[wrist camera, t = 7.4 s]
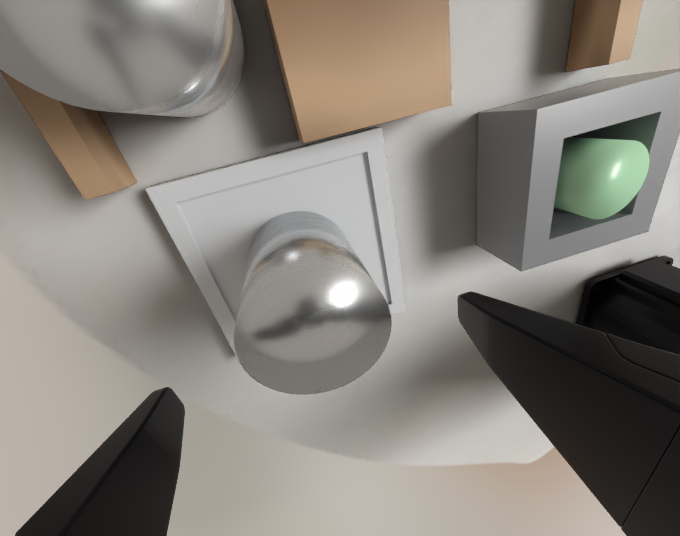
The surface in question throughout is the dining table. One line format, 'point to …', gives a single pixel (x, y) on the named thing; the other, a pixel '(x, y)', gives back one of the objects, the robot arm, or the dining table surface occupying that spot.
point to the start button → (599, 175)
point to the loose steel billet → (308, 308)
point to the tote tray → (278, 198)
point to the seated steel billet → (125, 53)
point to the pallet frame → (335, 73)
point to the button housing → (544, 162)
